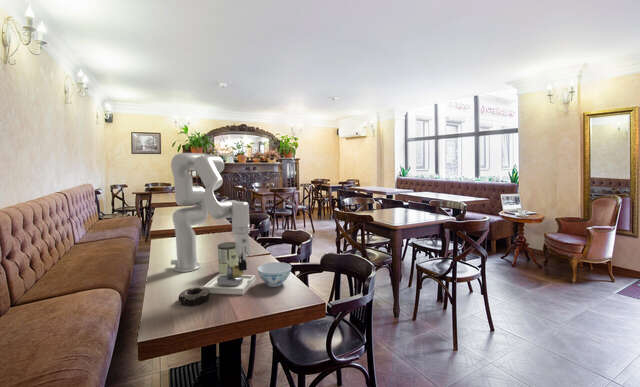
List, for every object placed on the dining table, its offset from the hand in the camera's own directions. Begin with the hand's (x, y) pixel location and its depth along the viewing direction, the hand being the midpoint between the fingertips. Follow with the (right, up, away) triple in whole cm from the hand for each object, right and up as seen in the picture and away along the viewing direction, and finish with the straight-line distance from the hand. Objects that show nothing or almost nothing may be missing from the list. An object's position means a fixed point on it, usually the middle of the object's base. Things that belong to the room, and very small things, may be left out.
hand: (242, 269), depth 146 cm
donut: (-16, -9, -15) cm, 24 cm away
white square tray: (-5, -7, -1) cm, 9 cm away
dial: (-5, -5, -1) cm, 7 cm away
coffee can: (-11, -5, +18) cm, 22 cm away
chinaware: (+14, -7, +2) cm, 16 cm away
